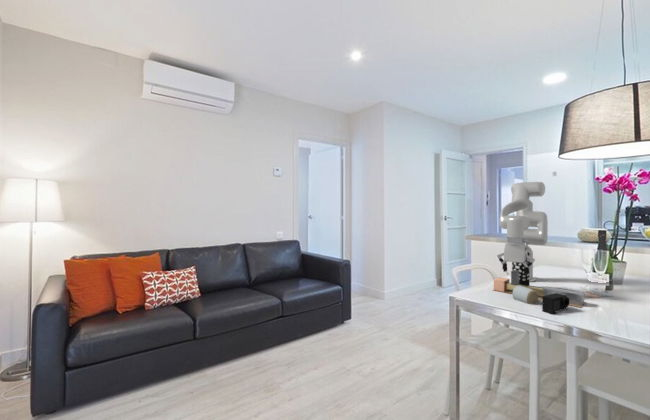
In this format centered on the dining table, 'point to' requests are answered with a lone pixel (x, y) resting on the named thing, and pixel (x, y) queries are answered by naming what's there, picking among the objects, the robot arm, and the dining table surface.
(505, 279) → the terracotta socket
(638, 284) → the dining table surface
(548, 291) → the metal sleeve
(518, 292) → the ceramic mug
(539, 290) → the hammer
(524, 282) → the spotted tube
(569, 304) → the walnut board
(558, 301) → the digital camera
